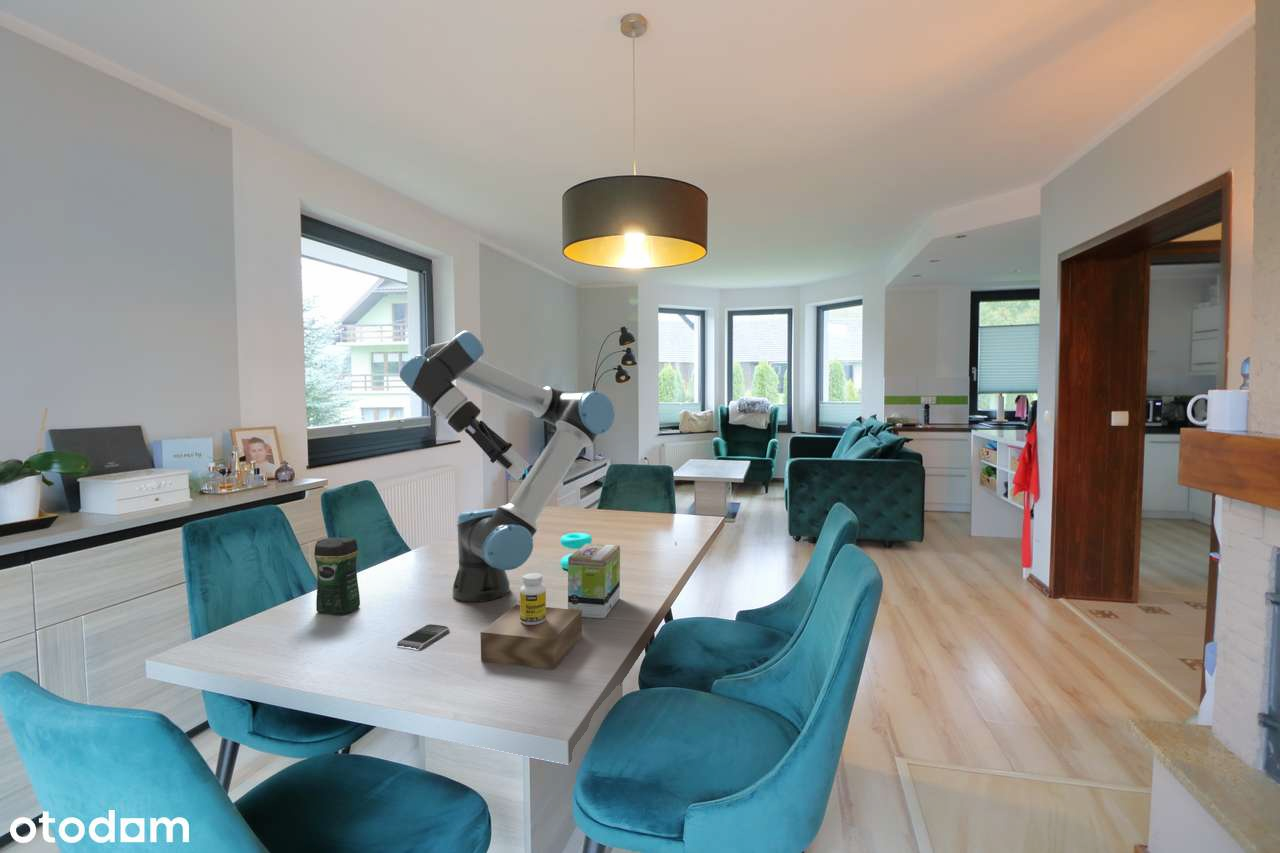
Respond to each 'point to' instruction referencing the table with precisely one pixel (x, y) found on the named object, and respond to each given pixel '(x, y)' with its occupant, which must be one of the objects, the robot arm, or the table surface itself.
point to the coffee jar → (336, 575)
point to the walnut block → (531, 638)
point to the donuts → (573, 544)
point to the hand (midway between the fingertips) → (523, 472)
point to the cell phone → (423, 636)
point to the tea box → (594, 579)
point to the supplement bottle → (532, 600)
